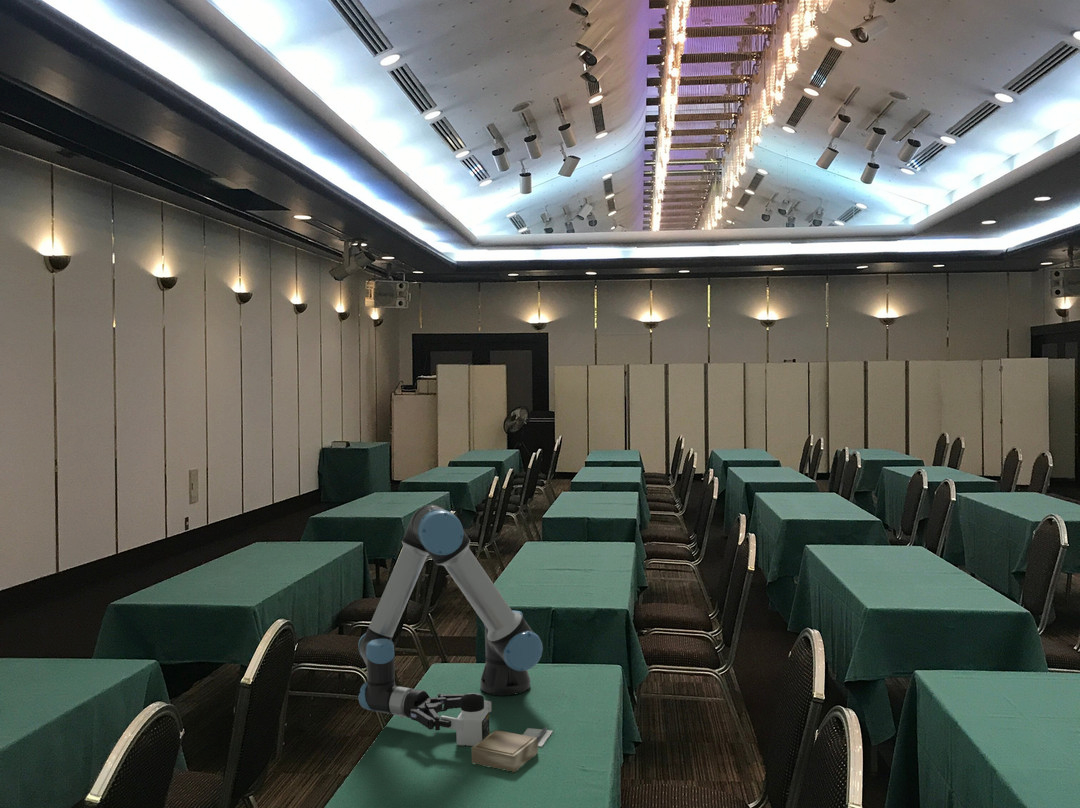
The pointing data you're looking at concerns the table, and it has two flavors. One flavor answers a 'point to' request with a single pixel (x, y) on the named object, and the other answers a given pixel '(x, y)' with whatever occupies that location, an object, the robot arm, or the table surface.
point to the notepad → (539, 735)
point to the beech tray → (504, 750)
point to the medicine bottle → (473, 720)
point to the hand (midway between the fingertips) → (477, 715)
